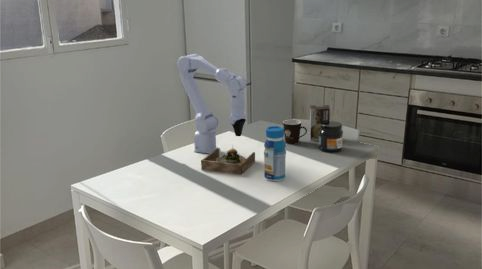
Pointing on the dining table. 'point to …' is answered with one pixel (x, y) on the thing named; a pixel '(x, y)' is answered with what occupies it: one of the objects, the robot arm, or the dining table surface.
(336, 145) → the supplement container
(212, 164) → the box
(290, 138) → the coffee mug
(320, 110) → the coffee box
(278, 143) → the beverage bottle
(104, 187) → the dining table surface
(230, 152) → the burger
